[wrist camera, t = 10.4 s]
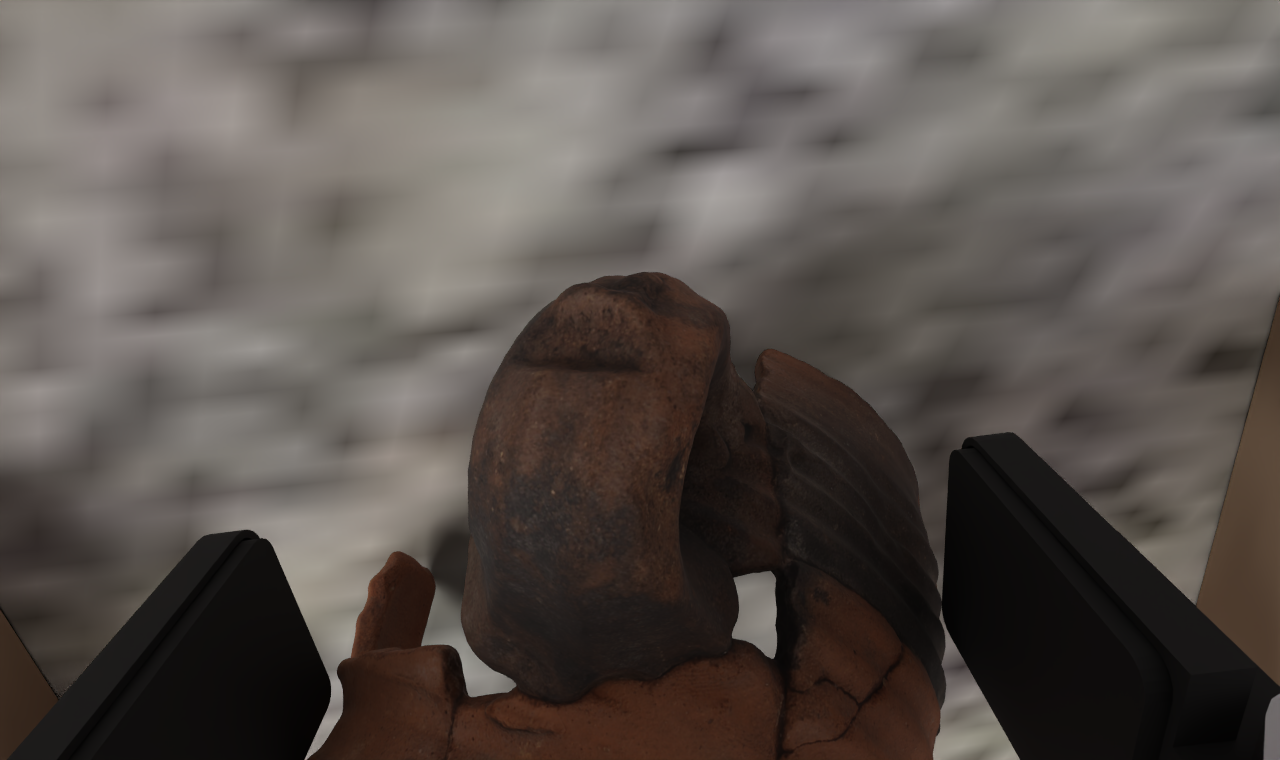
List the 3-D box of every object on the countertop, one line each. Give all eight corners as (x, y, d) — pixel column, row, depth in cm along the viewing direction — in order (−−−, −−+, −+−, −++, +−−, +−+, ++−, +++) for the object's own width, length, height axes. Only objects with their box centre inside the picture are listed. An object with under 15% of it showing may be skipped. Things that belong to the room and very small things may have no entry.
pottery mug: (937, 623, 16) (874, 1119, 11) (565, 527, 19) (387, 864, 14) (1061, 91, 8) (1047, 1153, 2) (375, 96, 11) (-203, 530, 6)
